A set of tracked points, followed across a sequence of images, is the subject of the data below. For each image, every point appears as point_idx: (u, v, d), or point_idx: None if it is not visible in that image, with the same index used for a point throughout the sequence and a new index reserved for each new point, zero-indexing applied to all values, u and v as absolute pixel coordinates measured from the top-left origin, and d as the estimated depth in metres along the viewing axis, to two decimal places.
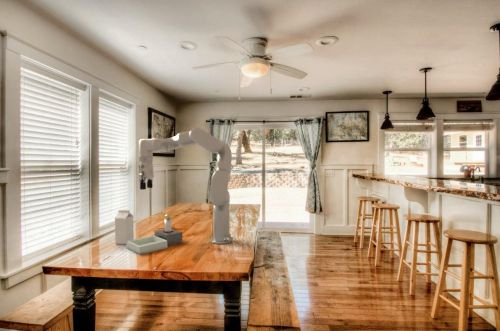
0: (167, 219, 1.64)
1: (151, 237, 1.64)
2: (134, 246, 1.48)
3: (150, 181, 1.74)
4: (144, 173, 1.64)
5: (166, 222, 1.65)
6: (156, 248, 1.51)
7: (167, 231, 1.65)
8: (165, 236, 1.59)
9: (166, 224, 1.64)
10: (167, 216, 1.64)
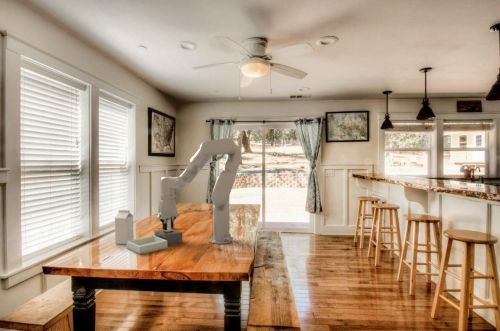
0: (167, 219, 1.64)
1: (151, 237, 1.64)
2: (134, 246, 1.48)
3: None
4: None
5: (166, 222, 1.65)
6: (156, 248, 1.51)
7: (167, 231, 1.65)
8: (165, 236, 1.59)
9: None
10: None
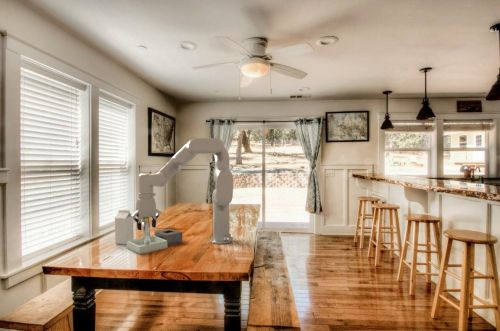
0: (145, 221, 1.53)
1: (151, 237, 1.64)
2: (134, 246, 1.48)
3: None
4: None
5: (144, 225, 1.53)
6: (156, 248, 1.51)
7: (146, 235, 1.53)
8: (165, 236, 1.59)
9: (144, 227, 1.53)
10: (145, 218, 1.53)
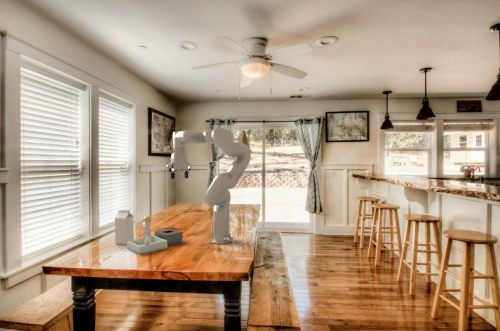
0: (146, 222, 1.53)
1: (151, 237, 1.64)
2: (134, 246, 1.48)
3: None
4: None
5: (145, 225, 1.53)
6: (156, 248, 1.51)
7: (146, 235, 1.53)
8: (165, 236, 1.59)
9: (144, 227, 1.53)
10: (146, 218, 1.53)
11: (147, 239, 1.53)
